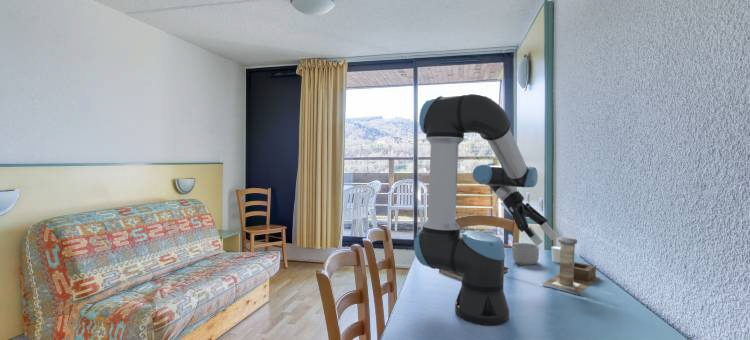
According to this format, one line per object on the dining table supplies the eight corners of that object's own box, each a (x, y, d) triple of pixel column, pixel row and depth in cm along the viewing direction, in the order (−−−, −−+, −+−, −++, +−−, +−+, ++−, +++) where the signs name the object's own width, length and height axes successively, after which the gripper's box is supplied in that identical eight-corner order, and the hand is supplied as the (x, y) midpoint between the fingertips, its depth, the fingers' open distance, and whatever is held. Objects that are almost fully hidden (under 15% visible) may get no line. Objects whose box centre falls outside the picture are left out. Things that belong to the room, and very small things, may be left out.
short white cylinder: (548, 261, 158) (548, 245, 157) (564, 261, 157) (565, 246, 156) (553, 265, 151) (554, 249, 151) (571, 266, 150) (571, 250, 150)
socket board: (579, 296, 118) (580, 281, 117) (542, 286, 126) (542, 272, 126) (600, 280, 133) (600, 267, 133) (565, 272, 142) (566, 260, 142)
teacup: (543, 268, 147) (543, 249, 147) (516, 267, 147) (517, 248, 147) (529, 258, 161) (529, 241, 161) (505, 258, 161) (505, 240, 161)
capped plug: (572, 288, 122) (573, 242, 121) (554, 283, 126) (555, 239, 125) (577, 284, 126) (579, 239, 125) (560, 279, 130) (561, 236, 129)
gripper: (517, 200, 152) (552, 241, 141) (487, 204, 135) (524, 252, 124) (530, 188, 148) (567, 230, 137) (501, 192, 131) (540, 240, 120)
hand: (547, 241), depth 131 cm, fingers open, 13 cm apart
